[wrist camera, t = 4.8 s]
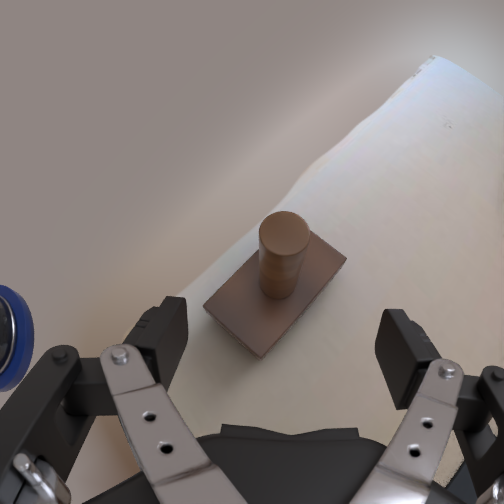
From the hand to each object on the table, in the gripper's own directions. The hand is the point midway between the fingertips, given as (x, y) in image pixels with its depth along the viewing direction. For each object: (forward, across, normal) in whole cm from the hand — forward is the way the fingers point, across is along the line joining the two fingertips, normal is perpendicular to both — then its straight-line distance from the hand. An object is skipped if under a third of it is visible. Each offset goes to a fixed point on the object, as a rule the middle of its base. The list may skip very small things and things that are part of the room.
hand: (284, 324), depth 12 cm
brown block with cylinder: (+12, 0, +5) cm, 13 cm away
